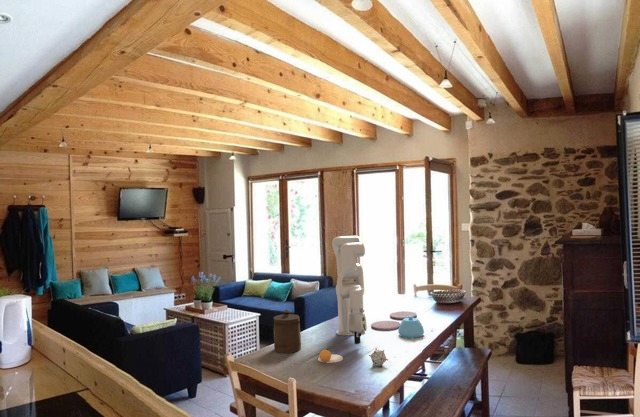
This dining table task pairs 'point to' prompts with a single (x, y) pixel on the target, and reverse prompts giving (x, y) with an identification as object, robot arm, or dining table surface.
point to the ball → (325, 355)
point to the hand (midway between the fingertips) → (357, 343)
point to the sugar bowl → (411, 328)
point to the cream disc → (333, 358)
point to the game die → (378, 357)
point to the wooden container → (287, 333)
